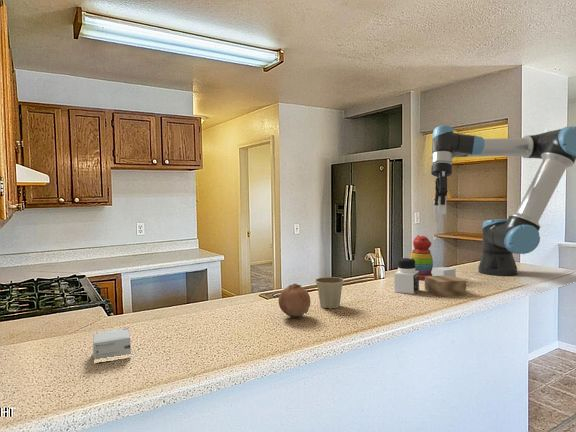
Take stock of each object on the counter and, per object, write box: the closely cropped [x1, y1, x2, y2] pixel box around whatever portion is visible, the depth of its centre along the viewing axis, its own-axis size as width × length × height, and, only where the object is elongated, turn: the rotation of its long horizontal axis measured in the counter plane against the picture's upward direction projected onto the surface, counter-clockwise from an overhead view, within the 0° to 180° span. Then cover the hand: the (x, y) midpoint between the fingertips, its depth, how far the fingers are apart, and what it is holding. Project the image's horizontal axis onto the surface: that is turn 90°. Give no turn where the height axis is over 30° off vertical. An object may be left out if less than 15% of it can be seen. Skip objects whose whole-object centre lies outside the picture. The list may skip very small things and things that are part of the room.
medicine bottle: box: [393, 257, 420, 295], centre depth 148 cm, size 7×7×12 cm
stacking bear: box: [409, 234, 434, 281], centre depth 170 cm, size 11×10×18 cm
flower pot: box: [314, 276, 345, 310], centre depth 130 cm, size 9×9×9 cm
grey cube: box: [431, 266, 457, 277], centre depth 158 cm, size 6×6×6 cm
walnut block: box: [424, 275, 467, 298], centre depth 145 cm, size 10×10×5 cm
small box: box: [92, 327, 132, 361], centre depth 94 cm, size 8×8×5 cm
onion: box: [278, 283, 311, 318], centre depth 119 cm, size 10×9×10 cm
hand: (439, 218), depth 154 cm, fingers open, 13 cm apart
